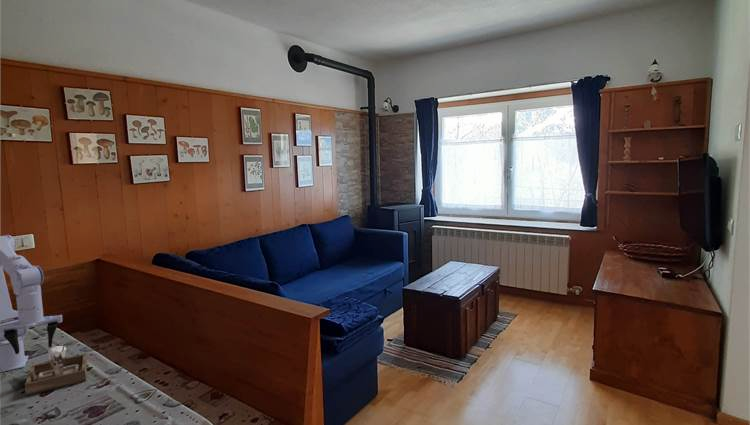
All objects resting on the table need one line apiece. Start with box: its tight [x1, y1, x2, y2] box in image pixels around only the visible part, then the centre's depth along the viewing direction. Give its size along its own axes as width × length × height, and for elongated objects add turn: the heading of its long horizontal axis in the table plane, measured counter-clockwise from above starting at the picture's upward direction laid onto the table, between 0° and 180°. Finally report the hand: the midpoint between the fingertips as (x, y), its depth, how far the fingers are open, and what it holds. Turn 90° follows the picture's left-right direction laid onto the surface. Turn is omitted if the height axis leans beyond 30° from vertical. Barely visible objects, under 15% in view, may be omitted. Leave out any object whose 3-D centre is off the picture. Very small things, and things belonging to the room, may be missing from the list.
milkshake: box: [47, 344, 67, 377], centre depth 123 cm, size 4×5×10 cm
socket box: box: [24, 353, 88, 397], centre depth 122 cm, size 14×14×4 cm
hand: (34, 349), depth 120 cm, fingers open, 7 cm apart
